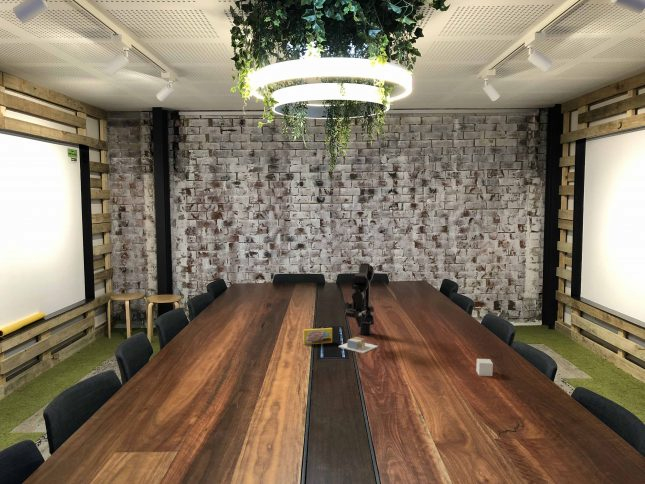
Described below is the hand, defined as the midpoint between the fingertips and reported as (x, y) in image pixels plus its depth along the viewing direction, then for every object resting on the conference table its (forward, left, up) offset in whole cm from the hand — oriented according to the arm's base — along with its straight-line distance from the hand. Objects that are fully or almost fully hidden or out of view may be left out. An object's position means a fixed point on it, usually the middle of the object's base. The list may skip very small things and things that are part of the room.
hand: (359, 326), depth 268 cm
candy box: (+10, -21, -11) cm, 26 cm away
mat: (+1, 0, -11) cm, 11 cm away
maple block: (-1, 0, -8) cm, 8 cm away
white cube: (-5, +67, -11) cm, 68 cm away
